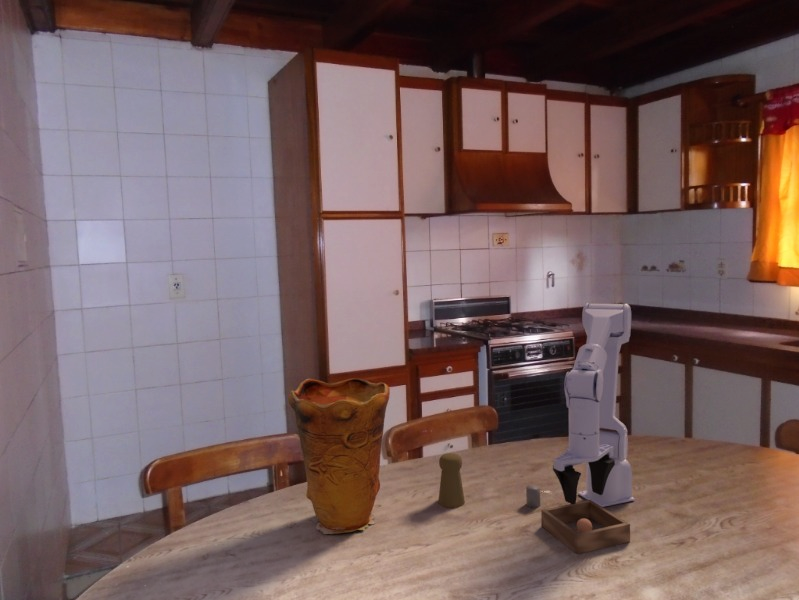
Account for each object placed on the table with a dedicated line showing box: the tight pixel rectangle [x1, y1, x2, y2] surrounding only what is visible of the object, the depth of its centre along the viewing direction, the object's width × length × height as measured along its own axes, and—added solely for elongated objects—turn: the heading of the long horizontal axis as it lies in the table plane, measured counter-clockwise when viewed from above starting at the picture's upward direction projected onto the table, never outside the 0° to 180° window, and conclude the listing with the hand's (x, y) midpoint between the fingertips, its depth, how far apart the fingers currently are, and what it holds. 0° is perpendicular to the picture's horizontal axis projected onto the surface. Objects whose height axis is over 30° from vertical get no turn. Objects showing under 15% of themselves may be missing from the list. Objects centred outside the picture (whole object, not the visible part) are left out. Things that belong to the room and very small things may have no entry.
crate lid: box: [525, 484, 553, 509], centre depth 132 cm, size 13×13×5 cm
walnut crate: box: [540, 499, 631, 555], centre depth 118 cm, size 12×12×4 cm
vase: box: [288, 377, 391, 535], centre depth 124 cm, size 21×20×30 cm
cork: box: [438, 452, 466, 509], centre depth 134 cm, size 6×6×11 cm
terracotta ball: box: [576, 518, 593, 533], centre depth 118 cm, size 3×3×3 cm
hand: (584, 497), depth 117 cm, fingers open, 7 cm apart
